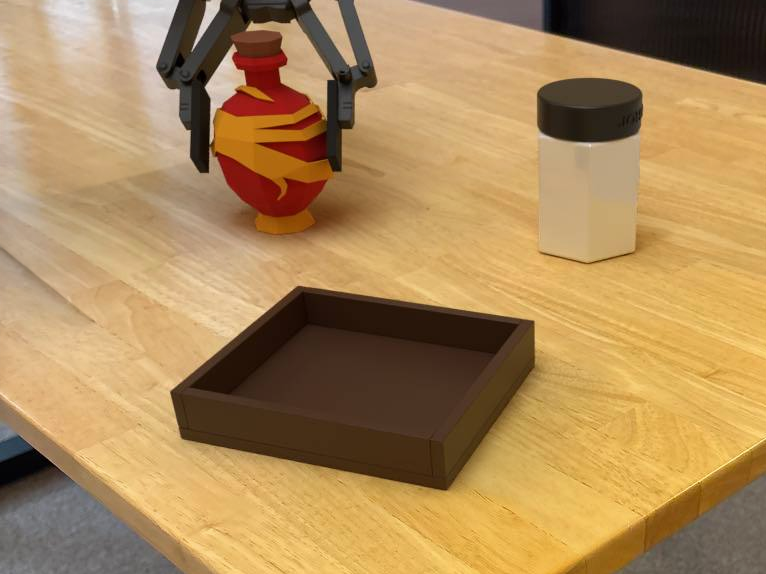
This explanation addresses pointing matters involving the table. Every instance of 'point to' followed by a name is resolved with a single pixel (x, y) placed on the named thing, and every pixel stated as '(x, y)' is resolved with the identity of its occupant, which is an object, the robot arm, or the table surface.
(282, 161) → the potion bottle
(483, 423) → the shallow brown tray
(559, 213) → the jar
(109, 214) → the table surface
